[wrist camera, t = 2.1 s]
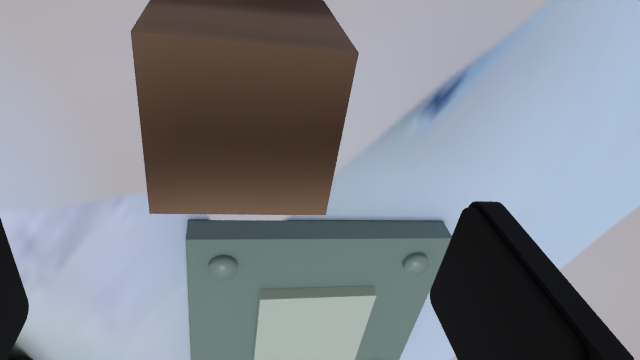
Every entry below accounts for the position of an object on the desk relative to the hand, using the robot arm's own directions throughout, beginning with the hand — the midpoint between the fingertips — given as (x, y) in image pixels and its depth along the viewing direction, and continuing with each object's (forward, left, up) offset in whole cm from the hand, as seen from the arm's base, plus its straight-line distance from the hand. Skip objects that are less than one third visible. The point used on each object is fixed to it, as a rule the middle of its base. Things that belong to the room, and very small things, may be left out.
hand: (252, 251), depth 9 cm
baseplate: (+12, +4, -8) cm, 15 cm away
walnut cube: (-1, 0, -8) cm, 8 cm away
